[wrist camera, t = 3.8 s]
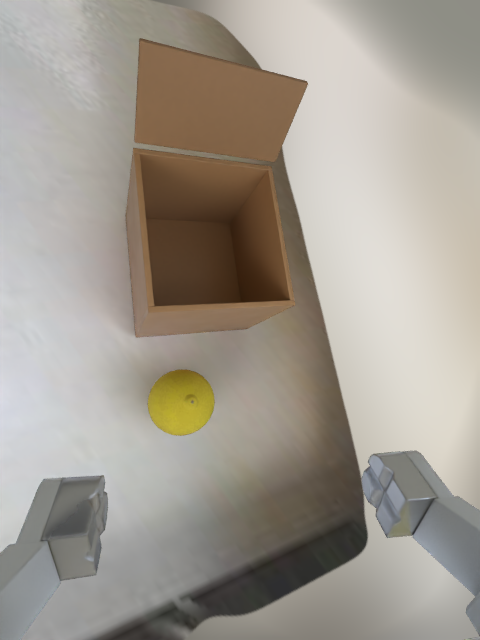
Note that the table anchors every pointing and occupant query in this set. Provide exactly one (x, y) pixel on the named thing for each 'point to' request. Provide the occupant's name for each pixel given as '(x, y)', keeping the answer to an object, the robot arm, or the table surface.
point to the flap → (212, 103)
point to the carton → (203, 244)
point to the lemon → (181, 402)
